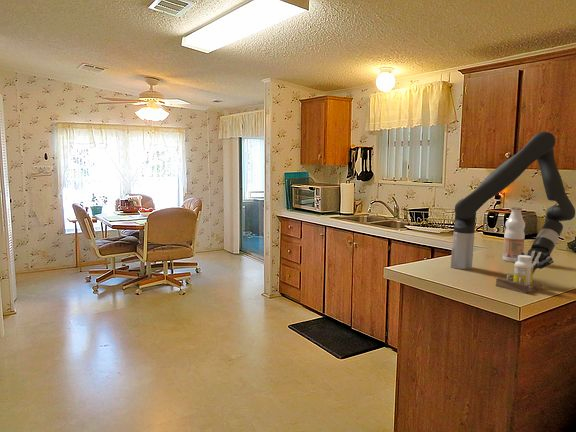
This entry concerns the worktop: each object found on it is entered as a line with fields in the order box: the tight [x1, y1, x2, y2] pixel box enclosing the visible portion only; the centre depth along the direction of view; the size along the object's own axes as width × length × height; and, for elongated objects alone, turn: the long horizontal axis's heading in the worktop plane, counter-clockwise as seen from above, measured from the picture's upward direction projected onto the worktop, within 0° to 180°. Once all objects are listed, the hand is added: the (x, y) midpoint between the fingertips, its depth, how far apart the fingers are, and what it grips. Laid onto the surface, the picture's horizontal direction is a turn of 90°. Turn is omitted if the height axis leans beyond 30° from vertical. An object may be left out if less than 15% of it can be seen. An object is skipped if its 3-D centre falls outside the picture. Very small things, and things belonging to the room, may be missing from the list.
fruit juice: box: [502, 206, 526, 263], centre depth 218 cm, size 9×9×28 cm
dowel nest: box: [495, 274, 543, 294], centre depth 169 cm, size 12×12×5 cm
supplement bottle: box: [513, 255, 534, 286], centre depth 169 cm, size 7×7×13 cm
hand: (528, 274), depth 171 cm, fingers closed
